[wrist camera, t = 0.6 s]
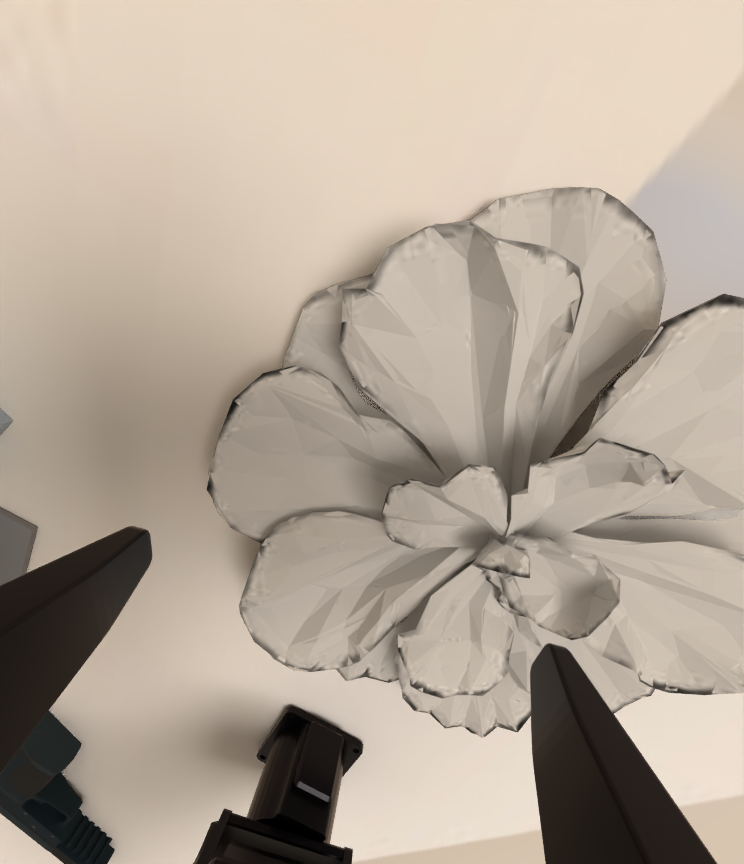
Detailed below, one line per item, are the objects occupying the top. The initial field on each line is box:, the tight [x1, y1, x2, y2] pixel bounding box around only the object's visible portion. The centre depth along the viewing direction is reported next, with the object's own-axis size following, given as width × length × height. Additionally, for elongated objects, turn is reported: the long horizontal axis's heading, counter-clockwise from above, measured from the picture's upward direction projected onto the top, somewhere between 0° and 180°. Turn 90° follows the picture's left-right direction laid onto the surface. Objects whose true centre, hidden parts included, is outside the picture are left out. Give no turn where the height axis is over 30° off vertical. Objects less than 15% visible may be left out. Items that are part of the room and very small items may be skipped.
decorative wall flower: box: [207, 187, 744, 738], centre depth 20 cm, size 30×7×30 cm
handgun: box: [0, 711, 115, 864], centre depth 37 cm, size 3×18×12 cm
